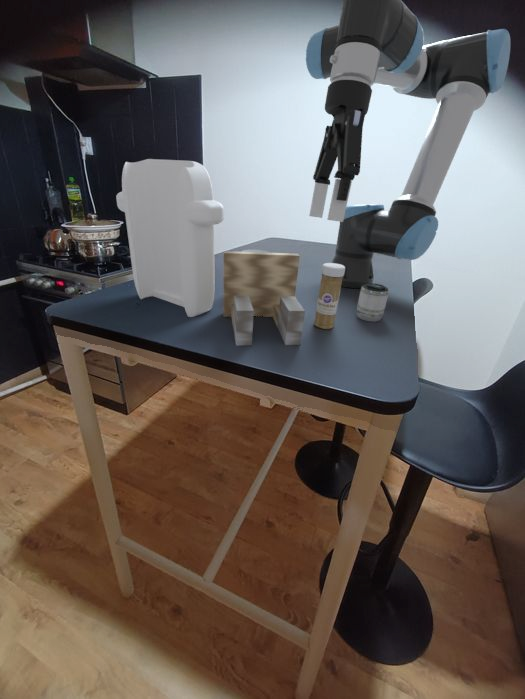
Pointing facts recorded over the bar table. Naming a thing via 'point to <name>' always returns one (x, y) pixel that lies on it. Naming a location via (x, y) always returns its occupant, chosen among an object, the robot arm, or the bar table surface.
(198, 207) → the white contoured slab
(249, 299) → the headboard stand
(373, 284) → the camera lens
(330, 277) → the sprinkles bottle
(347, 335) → the bar table surface
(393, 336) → the bar table surface
